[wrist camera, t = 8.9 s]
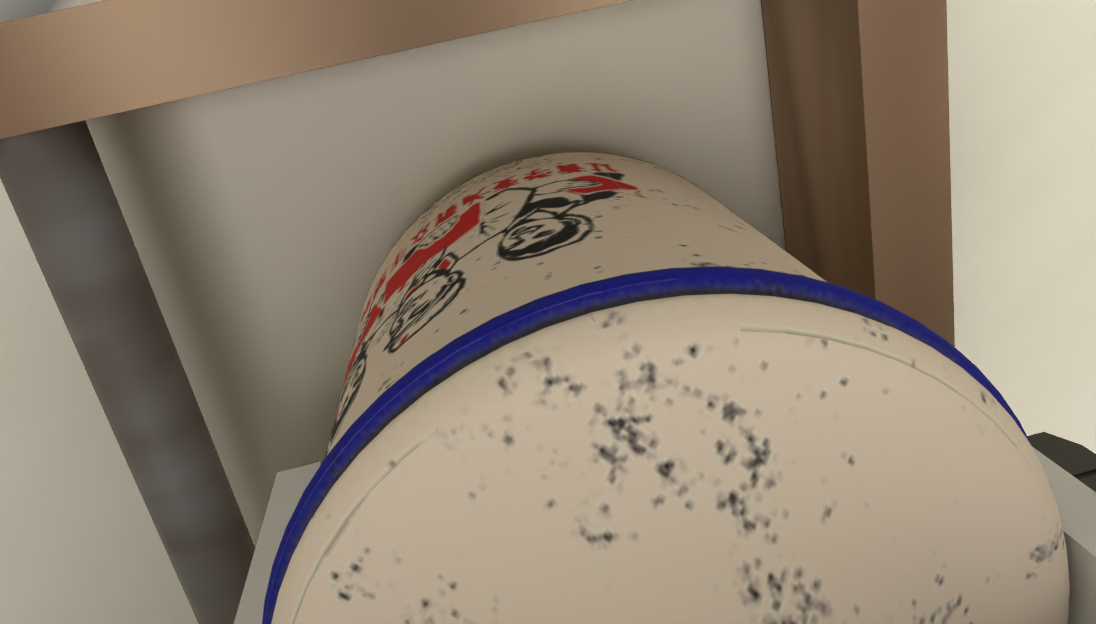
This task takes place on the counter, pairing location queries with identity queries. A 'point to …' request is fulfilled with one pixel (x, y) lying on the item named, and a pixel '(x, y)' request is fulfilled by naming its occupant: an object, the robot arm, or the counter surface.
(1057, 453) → the robot arm
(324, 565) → the teacup with lid
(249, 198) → the counter surface
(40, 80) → the wooden tray
